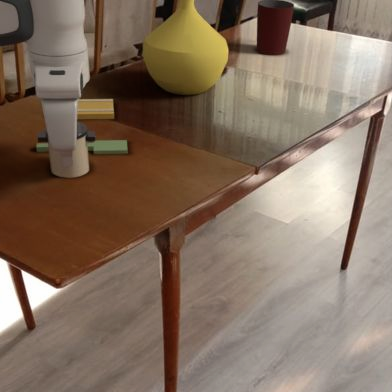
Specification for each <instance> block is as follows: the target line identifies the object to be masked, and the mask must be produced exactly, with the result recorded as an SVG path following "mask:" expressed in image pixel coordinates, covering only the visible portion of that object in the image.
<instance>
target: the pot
mask: <svg viewBox="0 0 392 392" xmlns="http://www.w3.org/2000/svg"><path fill="white" fill-rule="evenodd" d="M94 141H96V131H94V130H88V127H87V125H86V124H85V123H82V122H79V121H77V141H76V149H75V150H74V151H73V159H74V164H73V166H69V167H65V166H63V165H62V158H61V154H60V151H54V150H53V149H52V147H51V145H50V141H49V137H48V133H47V128H46V127H45V128H44V131H38V133H37V142H38V143H48V149H49V152H48V156H49V162H50V163H49V164H50V165H49V166H50V171H51V174H53V175H55V176H57V177H60V178H67V179H68V178H69V179H70V178H78V177H82V176H84V175H86V174H88V172H89V171H90V160H89V151H88V146H87V143H88V142H94Z"/></svg>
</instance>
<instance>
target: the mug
mask: <svg viewBox="0 0 392 392" xmlns="http://www.w3.org/2000/svg"><path fill="white" fill-rule="evenodd" d="M294 9H295V4H294V3H293V2H290V1H287V0H260V1H258V2H257V13H256V52H257V53H260V54H262V55H266V56H281V55H284V54H285V53H286V51H287V45H288V41H289V36H290V31H291V26H292V22H293V21H292V20H293V15H294Z"/></svg>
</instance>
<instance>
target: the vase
mask: <svg viewBox="0 0 392 392" xmlns="http://www.w3.org/2000/svg"><path fill="white" fill-rule="evenodd" d="M142 59H143V61H144V64H145V66H146V69H147V71H148V74H149V76H150V77H151V78H152V79H153V80H154V82H155V84H156V85H157V86H159V87H160V88H161V89H162V90H163V91H165V92H167V93H170V94H174V95H181V96H192V95H199V94H203V93H205V92H206V91H208V90H209V89H210V88H212V87H213V86H214V85H215V84H216V83H217V81H219V79H221V76H222V74H223V72H224V69H225V68H226V66H227V63H228V60H229V46H228V42H227V40H226V38H225V37H224V36H222V35H221V34H220V33H219V31H217V30H216V29H215V28H214V27H212V26H211V25H210V24H209V23H208V22H207V21H206V19H205V18H203V16H201V15H200V14H199V12H198V11H197V9H196V7H195V0H179V4H178V7H177V9H176V10H175V12H174V13H172V14H171V15H170V16H169V17H168V18H167V19H166V20H165V21H163V22H162V23H161V24H160V25H158V26H157V27H155V29H154V30H152V31H151V32H150V33H149V34H147V35H146V36H145V38H144V41H143V44H142Z"/></svg>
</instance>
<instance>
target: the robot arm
mask: <svg viewBox="0 0 392 392" xmlns="http://www.w3.org/2000/svg"><path fill="white" fill-rule="evenodd" d="M85 20H86V7H85V0H0V47H6V46H13V45H19V44H21V43H25V44H26V46H27V53H28V54H27V55H28V60H29V69H30V75H31V76H30V78H31V81H32V83H33V84H34V88H35V96H36V98H37V99H40V100H41V107H42V113H43V119H44V123H45V128H47V133H48V137H49V141H50V145H51V147H52V149H53V150H54V151H60V154H61V158H62V165H63V166H65V167H69V166H73V164H74V159H73V151H74V150H75V149H76V141H77V122H78V119H77V115H78V102H79V99H82V94H83V91H84V88H85V86H86V84H87V83H88V82H90V79H91V74H90V73H91V72H90V62H89V61H90V60H89V48H88V47H89V46H88V42H87V39H86V36H85V35H86V34H85V30H84V28H85V27H84V26H85Z"/></svg>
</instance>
